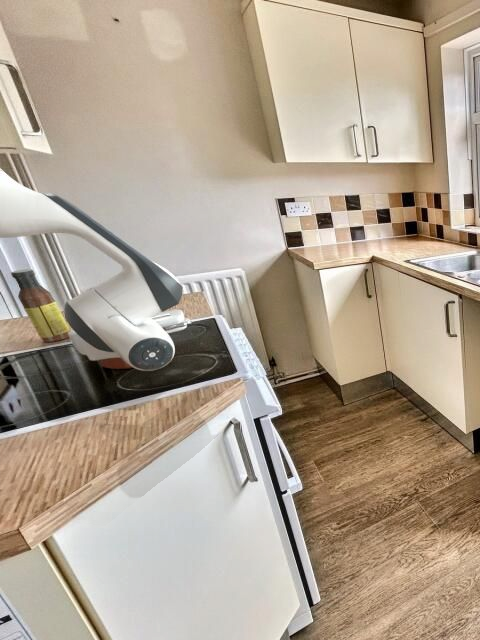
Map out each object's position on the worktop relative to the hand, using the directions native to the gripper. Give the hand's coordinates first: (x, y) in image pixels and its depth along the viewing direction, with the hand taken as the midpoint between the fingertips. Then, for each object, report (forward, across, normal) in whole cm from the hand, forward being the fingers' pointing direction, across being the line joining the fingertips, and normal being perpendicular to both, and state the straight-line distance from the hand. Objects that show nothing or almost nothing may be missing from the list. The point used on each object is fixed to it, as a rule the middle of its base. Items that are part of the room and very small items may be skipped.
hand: (126, 321), depth 101 cm
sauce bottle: (+38, +13, +11) cm, 42 cm away
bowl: (+3, 0, +10) cm, 11 cm away
